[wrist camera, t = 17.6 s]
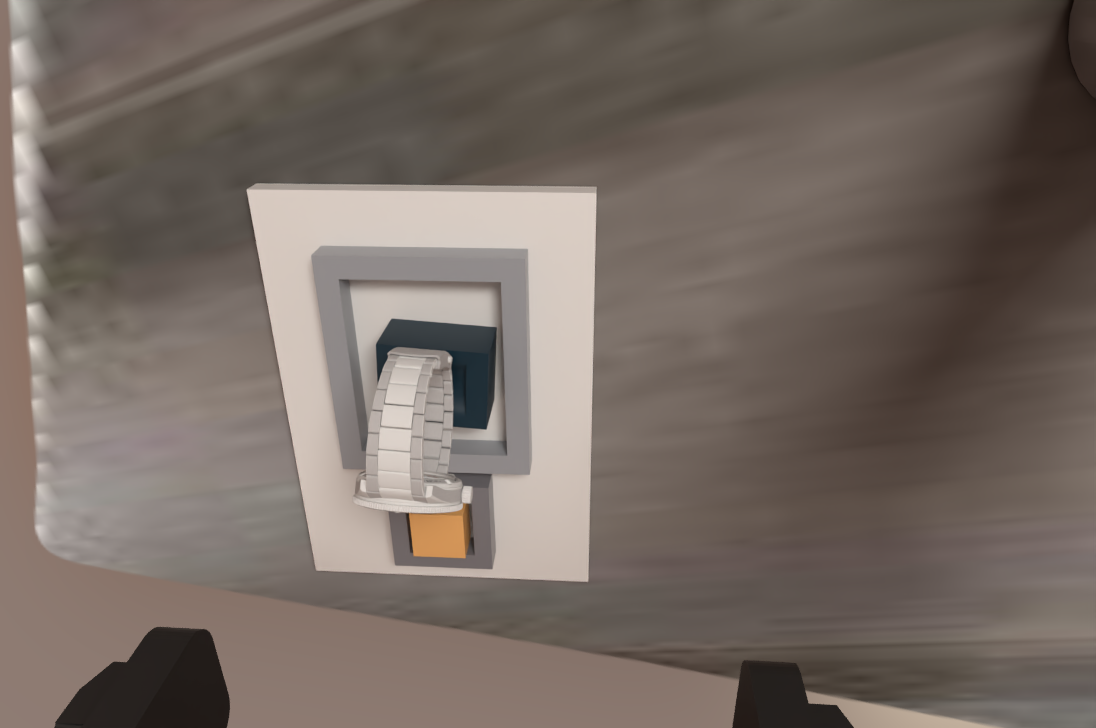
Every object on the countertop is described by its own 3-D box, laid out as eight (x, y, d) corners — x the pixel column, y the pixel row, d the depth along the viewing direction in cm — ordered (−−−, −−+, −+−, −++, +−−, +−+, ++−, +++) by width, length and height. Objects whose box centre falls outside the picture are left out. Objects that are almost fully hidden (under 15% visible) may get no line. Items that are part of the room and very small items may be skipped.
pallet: (256, 183, 39) (232, 198, 37) (596, 186, 38) (595, 202, 36) (322, 557, 50) (307, 588, 48) (588, 568, 49) (587, 600, 46)
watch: (395, 421, 44) (333, 553, 34) (390, 286, 40) (320, 390, 30) (495, 430, 43) (462, 565, 34) (499, 295, 40) (464, 403, 30)
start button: (416, 492, 45) (409, 513, 43) (468, 494, 45) (462, 515, 43) (421, 533, 47) (413, 556, 45) (470, 535, 46) (465, 558, 45)
